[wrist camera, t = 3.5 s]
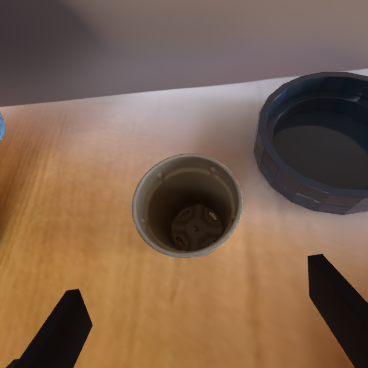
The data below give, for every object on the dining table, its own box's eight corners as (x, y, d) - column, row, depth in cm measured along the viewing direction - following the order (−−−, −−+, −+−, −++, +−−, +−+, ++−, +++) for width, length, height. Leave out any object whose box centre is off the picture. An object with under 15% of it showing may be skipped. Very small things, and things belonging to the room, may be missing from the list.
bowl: (227, 156, 31) (227, 131, 27) (305, 87, 35) (318, 54, 30) (346, 248, 24) (375, 235, 20) (430, 149, 28) (471, 118, 23)
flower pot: (141, 247, 28) (109, 223, 20) (180, 181, 31) (166, 140, 23) (214, 289, 24) (210, 281, 17) (250, 211, 28) (260, 175, 20)
